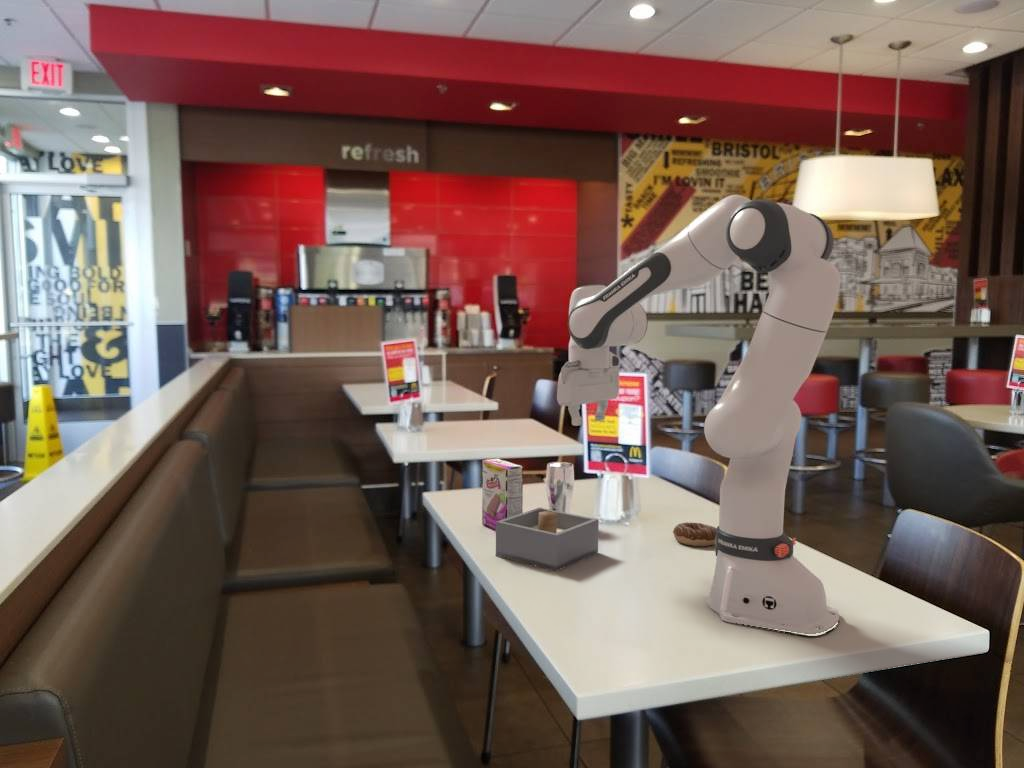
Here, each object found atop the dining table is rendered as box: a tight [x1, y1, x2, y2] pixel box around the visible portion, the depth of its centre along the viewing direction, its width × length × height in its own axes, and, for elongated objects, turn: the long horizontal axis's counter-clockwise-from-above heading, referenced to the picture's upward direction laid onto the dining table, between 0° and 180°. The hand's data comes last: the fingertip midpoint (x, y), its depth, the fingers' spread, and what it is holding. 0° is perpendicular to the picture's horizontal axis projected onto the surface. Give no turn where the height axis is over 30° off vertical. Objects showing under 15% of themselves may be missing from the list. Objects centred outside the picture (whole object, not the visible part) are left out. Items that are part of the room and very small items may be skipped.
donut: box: [672, 521, 717, 547], centre depth 185 cm, size 11×11×4 cm
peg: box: [538, 511, 557, 533], centre depth 174 cm, size 4×4×8 cm
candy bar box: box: [481, 458, 524, 531], centre depth 193 cm, size 11×5×16 cm, turn 34°
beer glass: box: [545, 461, 575, 514], centre depth 198 cm, size 7×7×15 cm
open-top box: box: [495, 507, 600, 572], centre depth 174 cm, size 16×16×8 cm
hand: (588, 422), depth 175 cm, fingers open, 8 cm apart
